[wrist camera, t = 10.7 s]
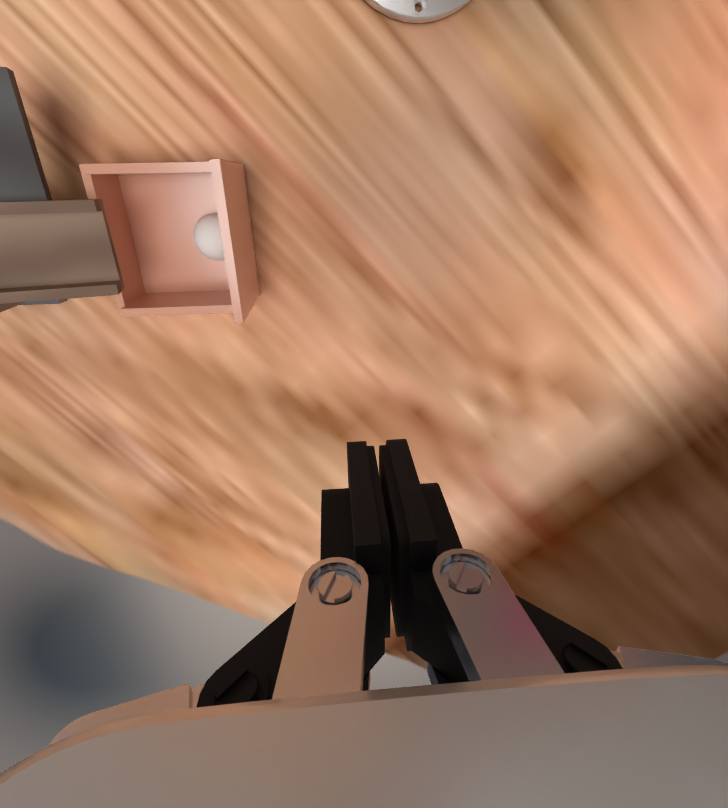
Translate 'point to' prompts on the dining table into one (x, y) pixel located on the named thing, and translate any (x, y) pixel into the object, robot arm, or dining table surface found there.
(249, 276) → the cup
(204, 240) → the ball
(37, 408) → the dining table surface
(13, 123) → the lever
